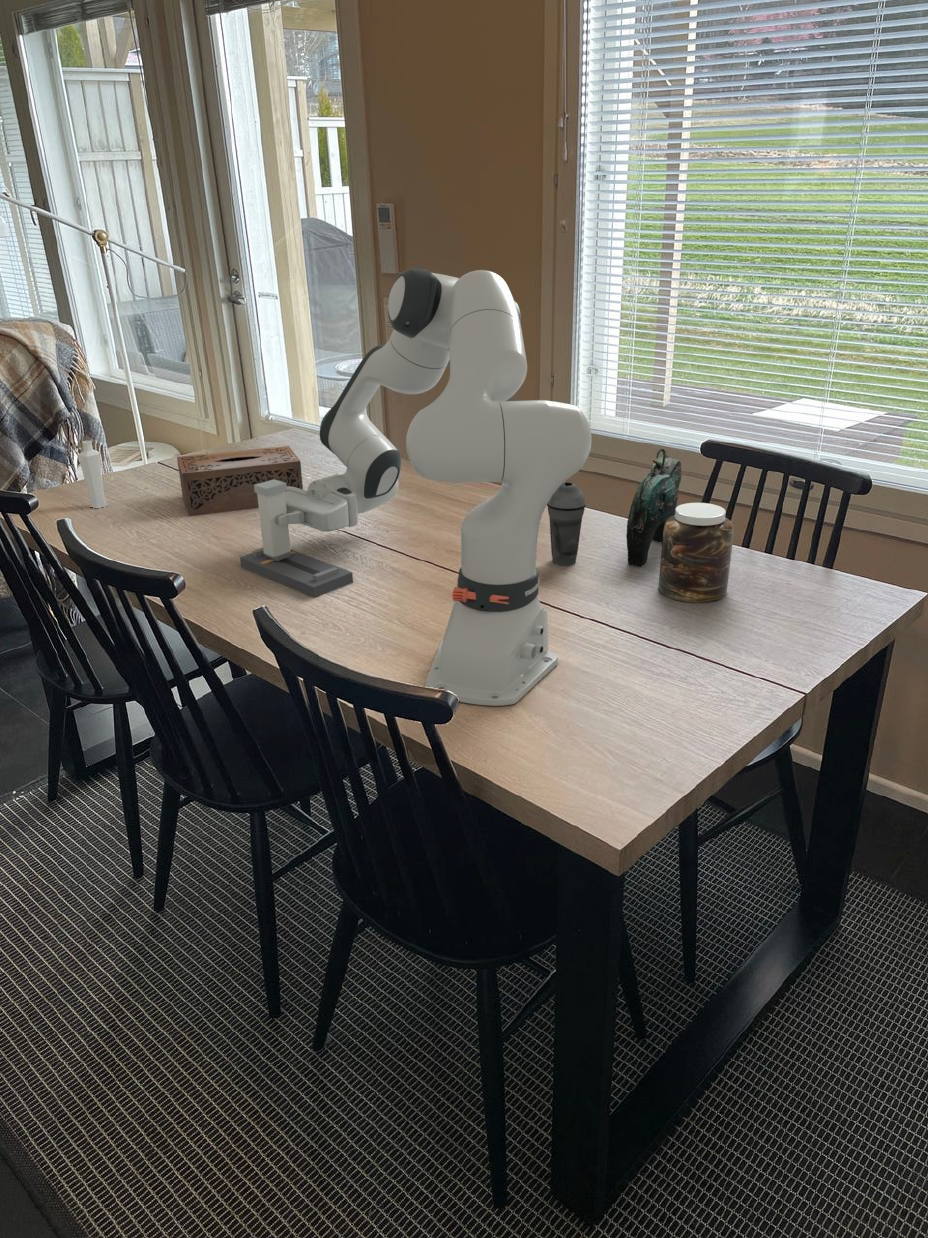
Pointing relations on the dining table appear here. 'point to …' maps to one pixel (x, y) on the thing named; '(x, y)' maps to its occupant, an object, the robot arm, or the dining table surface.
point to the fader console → (298, 572)
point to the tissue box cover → (234, 478)
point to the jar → (696, 553)
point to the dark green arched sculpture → (652, 507)
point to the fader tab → (273, 519)
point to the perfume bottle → (92, 475)
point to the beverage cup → (565, 523)
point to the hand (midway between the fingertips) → (270, 518)
